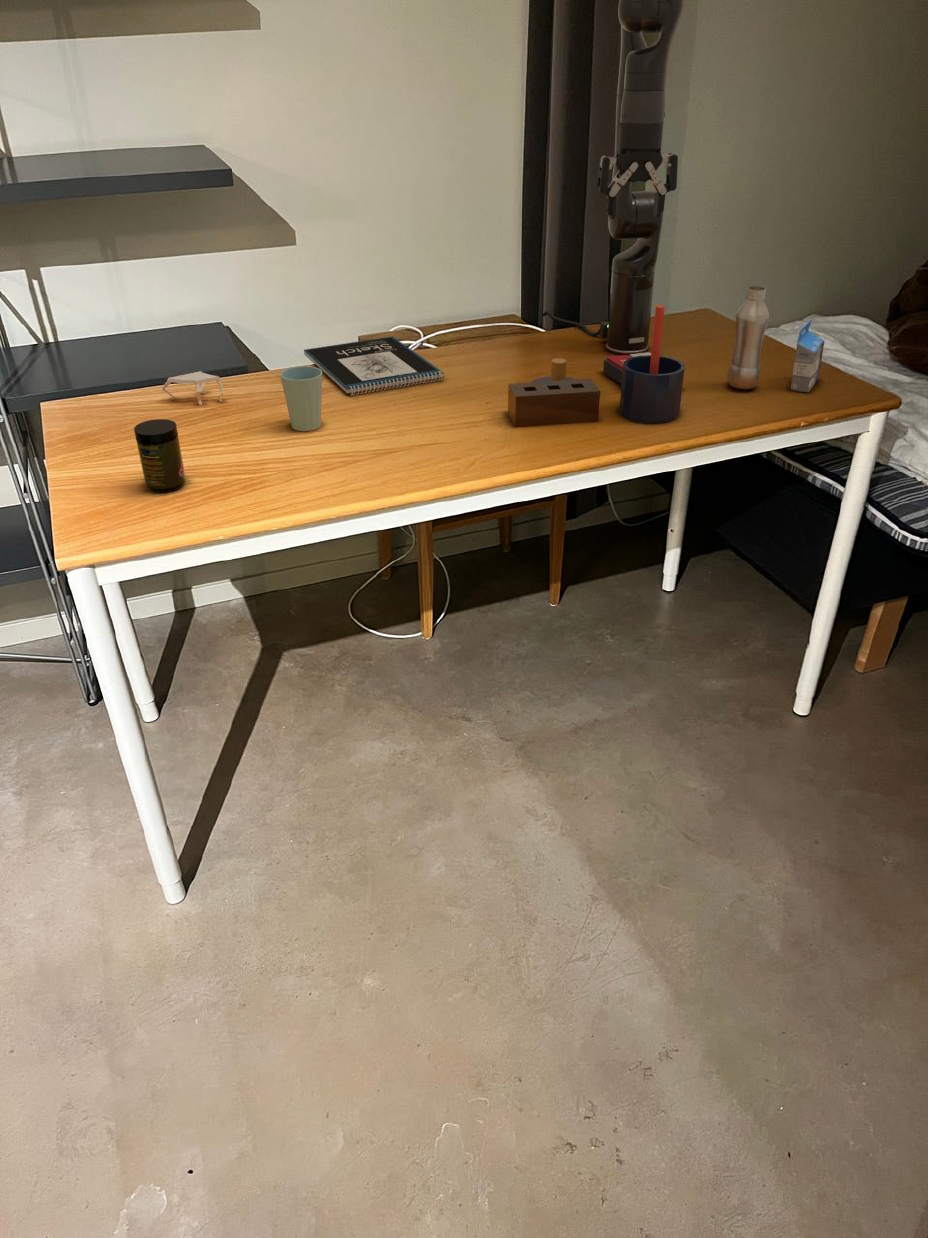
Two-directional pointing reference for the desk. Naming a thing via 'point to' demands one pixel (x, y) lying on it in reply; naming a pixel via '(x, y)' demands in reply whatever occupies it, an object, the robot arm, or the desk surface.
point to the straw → (656, 339)
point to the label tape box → (807, 360)
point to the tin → (651, 390)
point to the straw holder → (553, 402)
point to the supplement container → (160, 455)
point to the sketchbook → (372, 365)
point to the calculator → (617, 365)
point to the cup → (303, 396)
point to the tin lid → (556, 371)
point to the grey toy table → (195, 379)
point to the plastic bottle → (749, 339)
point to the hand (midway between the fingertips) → (634, 216)
